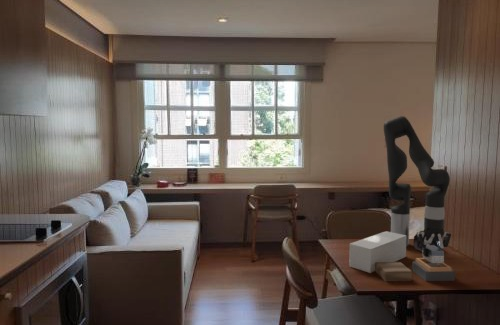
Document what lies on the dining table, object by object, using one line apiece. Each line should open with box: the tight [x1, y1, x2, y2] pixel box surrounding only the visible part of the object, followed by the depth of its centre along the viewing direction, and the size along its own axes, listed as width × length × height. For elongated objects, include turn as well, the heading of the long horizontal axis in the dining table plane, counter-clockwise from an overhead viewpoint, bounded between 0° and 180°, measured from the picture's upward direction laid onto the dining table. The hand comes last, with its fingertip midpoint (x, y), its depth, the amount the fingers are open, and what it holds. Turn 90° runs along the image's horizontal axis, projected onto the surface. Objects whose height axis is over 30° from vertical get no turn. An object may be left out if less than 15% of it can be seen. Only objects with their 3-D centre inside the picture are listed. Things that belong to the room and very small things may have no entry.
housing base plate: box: [421, 250, 445, 263], centre depth 157 cm, size 5×8×3 cm, turn 2°
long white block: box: [348, 230, 407, 274], centre depth 175 cm, size 32×11×11 cm, turn 131°
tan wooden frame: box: [411, 257, 456, 282], centre depth 157 cm, size 12×12×6 cm
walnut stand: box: [374, 261, 413, 282], centre depth 157 cm, size 11×11×4 cm
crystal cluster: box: [413, 230, 438, 252], centre depth 192 cm, size 14×14×10 cm
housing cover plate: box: [422, 245, 445, 257], centre depth 157 cm, size 5×8×2 cm, turn 2°
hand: (432, 256), depth 157 cm, fingers closed on housing base plate, housing cover plate, 5 cm apart
